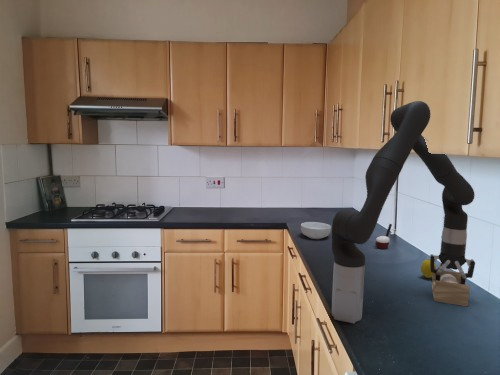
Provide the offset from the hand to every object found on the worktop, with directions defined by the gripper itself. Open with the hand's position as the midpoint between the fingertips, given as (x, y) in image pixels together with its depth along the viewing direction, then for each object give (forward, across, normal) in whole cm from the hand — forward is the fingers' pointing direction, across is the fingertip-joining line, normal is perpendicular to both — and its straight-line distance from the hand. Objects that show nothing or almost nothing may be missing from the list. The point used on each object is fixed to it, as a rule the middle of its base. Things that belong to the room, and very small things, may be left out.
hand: (449, 285), depth 127 cm
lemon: (+4, -6, +15) cm, 17 cm away
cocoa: (+4, -25, +50) cm, 56 cm away
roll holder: (+4, 0, 0) cm, 4 cm away
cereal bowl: (+4, -61, +55) cm, 82 cm away
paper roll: (0, 0, 0) cm, 0 cm away
